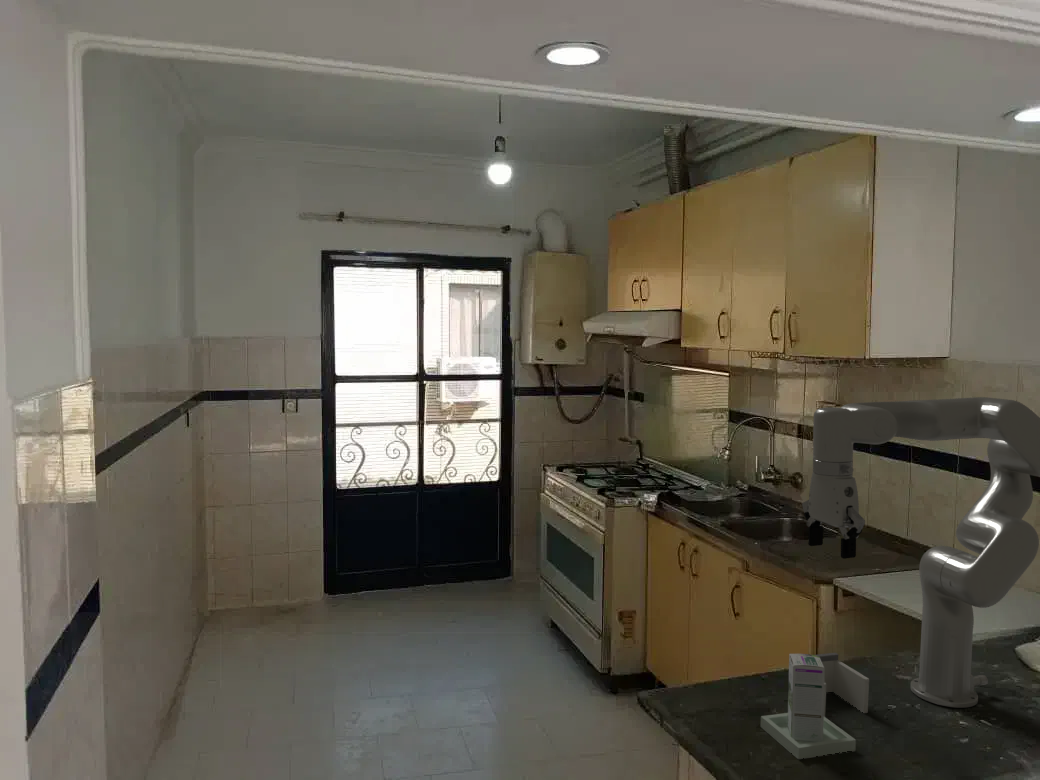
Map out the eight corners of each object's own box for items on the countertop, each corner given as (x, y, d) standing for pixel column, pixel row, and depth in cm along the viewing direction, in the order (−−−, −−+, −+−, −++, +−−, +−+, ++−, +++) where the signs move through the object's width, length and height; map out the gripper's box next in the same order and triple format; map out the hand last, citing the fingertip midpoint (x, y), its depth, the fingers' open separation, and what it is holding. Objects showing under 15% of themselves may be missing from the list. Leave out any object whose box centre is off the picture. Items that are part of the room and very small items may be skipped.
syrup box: (823, 744, 142) (827, 667, 141) (790, 740, 143) (793, 664, 142) (818, 729, 148) (821, 654, 147) (785, 725, 149) (788, 652, 148)
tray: (814, 719, 153) (814, 709, 152) (855, 751, 141) (855, 739, 141) (760, 726, 149) (760, 716, 149) (798, 759, 138) (798, 748, 138)
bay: (833, 689, 166) (835, 652, 165) (867, 712, 156) (869, 673, 155) (789, 695, 163) (790, 657, 163) (820, 718, 153) (822, 678, 152)
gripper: (879, 474, 150) (877, 561, 151) (819, 461, 166) (818, 539, 168) (847, 476, 148) (846, 564, 149) (789, 463, 164) (789, 542, 165)
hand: (831, 551), depth 158 cm, fingers open, 9 cm apart
